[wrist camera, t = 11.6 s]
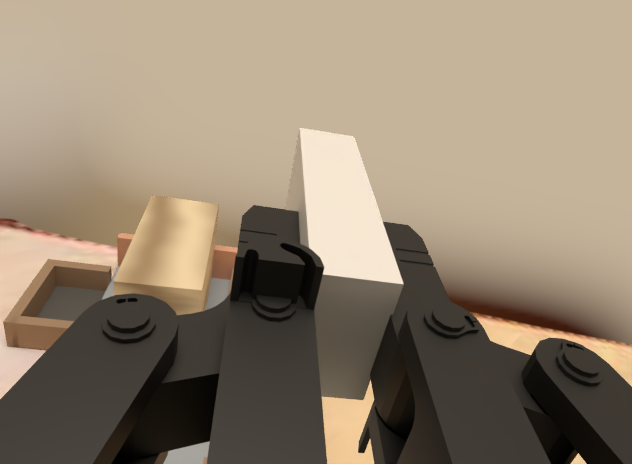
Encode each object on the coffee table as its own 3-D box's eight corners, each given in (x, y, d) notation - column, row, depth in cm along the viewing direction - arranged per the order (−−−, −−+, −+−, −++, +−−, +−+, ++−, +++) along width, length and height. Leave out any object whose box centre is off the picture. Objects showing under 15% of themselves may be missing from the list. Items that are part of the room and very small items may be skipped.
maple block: (211, 277, 59) (218, 204, 54) (194, 374, 46) (201, 290, 41) (150, 271, 58) (152, 195, 53) (115, 368, 45) (113, 281, 40)
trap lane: (299, 290, 62) (306, 256, 59) (311, 576, 35) (326, 536, 32) (62, 263, 58) (59, 225, 55) (-135, 561, 31) (-160, 514, 28)
